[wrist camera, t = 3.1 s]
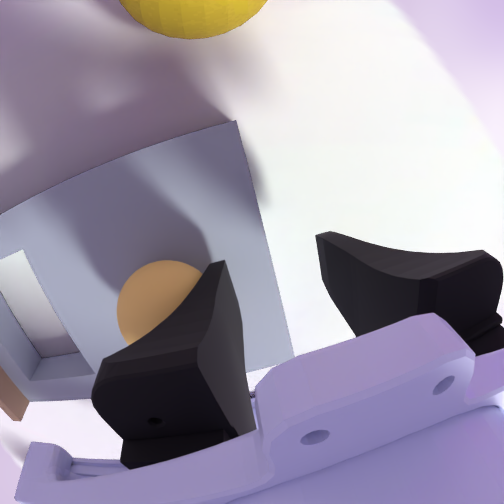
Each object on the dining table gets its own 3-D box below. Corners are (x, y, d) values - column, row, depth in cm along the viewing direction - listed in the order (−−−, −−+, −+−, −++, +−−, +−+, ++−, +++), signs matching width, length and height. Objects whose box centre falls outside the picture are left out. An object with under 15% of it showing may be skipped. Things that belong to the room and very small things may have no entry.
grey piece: (286, 332, 18) (304, 386, 14) (32, 380, 18) (13, 420, 14) (232, 121, 13) (240, 119, 9) (-48, 245, 13) (-86, 274, 9)
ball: (238, 317, 13) (226, 384, 10) (159, 328, 14) (130, 387, 10) (212, 234, 12) (184, 286, 8) (126, 254, 13) (79, 303, 9)
